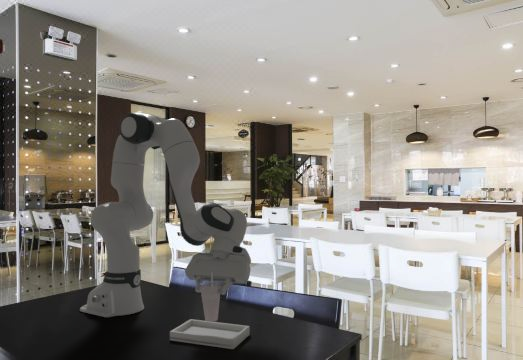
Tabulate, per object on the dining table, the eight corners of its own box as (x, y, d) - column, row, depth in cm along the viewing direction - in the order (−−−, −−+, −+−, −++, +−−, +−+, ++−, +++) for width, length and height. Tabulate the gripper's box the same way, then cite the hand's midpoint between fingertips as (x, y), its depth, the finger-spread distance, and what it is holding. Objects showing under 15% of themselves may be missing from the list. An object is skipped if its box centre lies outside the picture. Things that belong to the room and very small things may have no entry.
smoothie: (218, 323, 119) (217, 275, 119) (197, 322, 121) (195, 274, 120) (224, 316, 126) (223, 269, 125) (204, 315, 127) (203, 269, 127)
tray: (169, 340, 120) (169, 331, 120) (190, 327, 132) (190, 319, 132) (233, 349, 114) (233, 339, 114) (249, 334, 125) (249, 326, 125)
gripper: (191, 246, 133) (174, 284, 124) (250, 249, 126) (238, 289, 117) (198, 258, 137) (182, 295, 128) (256, 261, 130) (244, 301, 121)
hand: (209, 292), depth 122 cm, fingers closed on smoothie, 6 cm apart
